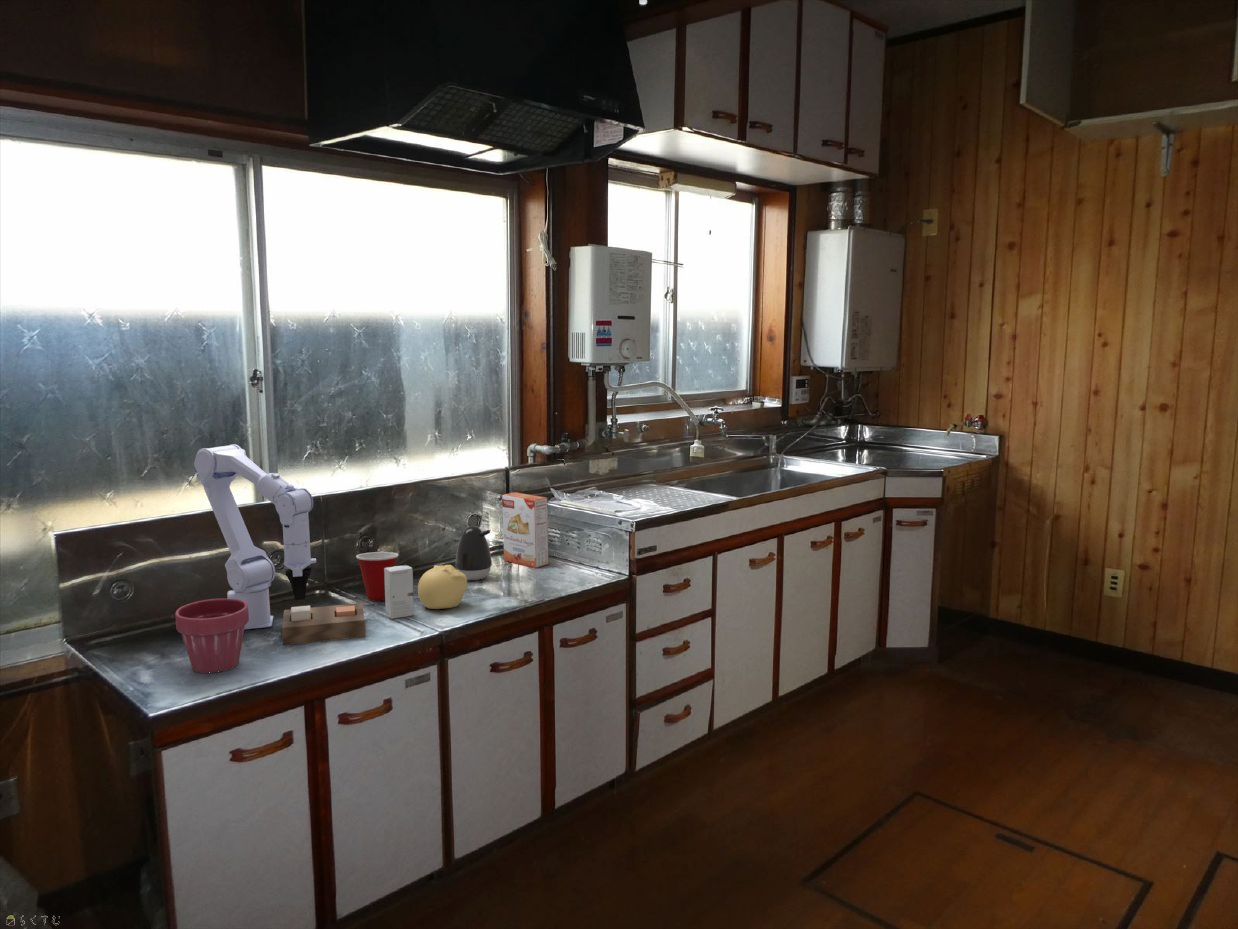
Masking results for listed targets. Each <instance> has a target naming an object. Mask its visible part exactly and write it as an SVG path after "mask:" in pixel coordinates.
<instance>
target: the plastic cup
mask: <svg viewBox="0 0 1238 929" xmlns="http://www.w3.org/2000/svg"><path fill="white" fill-rule="evenodd" d="M398 557H399V553H397V552H392V551H391V552H390V551H375V552H374V551H373V552H365V553H359V554H356V559H357V562H358V564H359V568H360V572H361V576H362V580H363V584H364V589H365V593H366V597H367V600H368V601H371V600H374V601H373V602H381V600H382V601H385V573H384V568H388V567H394V566H396V562H397V558H398Z"/></svg>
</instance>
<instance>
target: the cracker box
mask: <svg viewBox="0 0 1238 929" xmlns="http://www.w3.org/2000/svg"><path fill="white" fill-rule="evenodd" d="M501 497H502V499H501V500H502V501H501V502H502V503H501V504H502V532H503V533H502V535H503V536H502V537H503V538H502V540H503V561H505V562H508V561H509V562H510V563H513V564H517V565H522V566H525V567H529V568H533V569H538V568H541V567H544V566H548V565H549V522H548V520H549V518H548V516H549V515H548V514H549V513H548V497H545V496H540V495H533V494H528V493H527V494H526V493H521V492H510V493H504V494H502V496H501Z"/></svg>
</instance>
